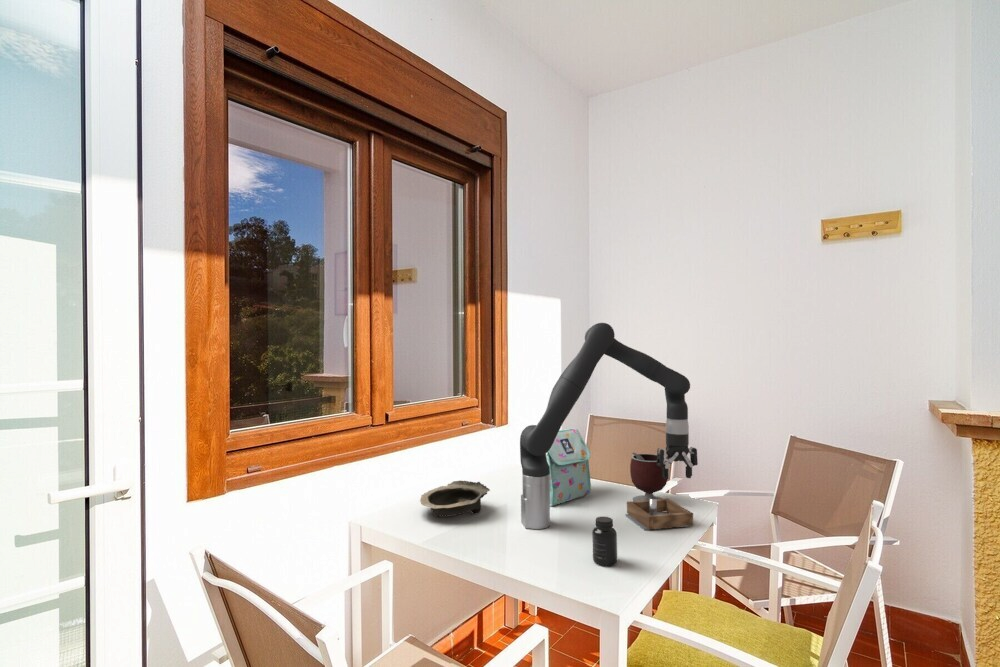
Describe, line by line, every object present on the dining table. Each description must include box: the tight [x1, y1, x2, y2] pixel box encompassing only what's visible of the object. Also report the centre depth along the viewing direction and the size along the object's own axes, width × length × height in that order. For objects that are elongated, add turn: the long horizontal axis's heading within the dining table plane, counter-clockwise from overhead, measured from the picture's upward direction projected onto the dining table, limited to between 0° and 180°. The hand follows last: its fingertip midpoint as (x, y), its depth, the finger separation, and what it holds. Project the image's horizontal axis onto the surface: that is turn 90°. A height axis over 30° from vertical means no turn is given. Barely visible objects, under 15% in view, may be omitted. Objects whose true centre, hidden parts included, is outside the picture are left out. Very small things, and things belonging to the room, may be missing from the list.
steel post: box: [649, 498, 657, 515], centre depth 176 cm, size 2×2×7 cm
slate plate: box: [625, 511, 666, 531], centre depth 176 cm, size 14×14×1 cm
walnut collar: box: [626, 498, 694, 530], centre depth 176 cm, size 16×16×4 cm
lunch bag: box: [546, 428, 592, 507], centre depth 202 cm, size 23×16×27 cm
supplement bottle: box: [591, 516, 618, 567], centre depth 144 cm, size 7×7×12 cm
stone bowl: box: [419, 480, 491, 518], centre depth 186 cm, size 25×25×9 cm
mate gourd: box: [629, 452, 668, 501], centre depth 196 cm, size 16×14×20 cm
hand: (677, 478), depth 178 cm, fingers open, 8 cm apart
